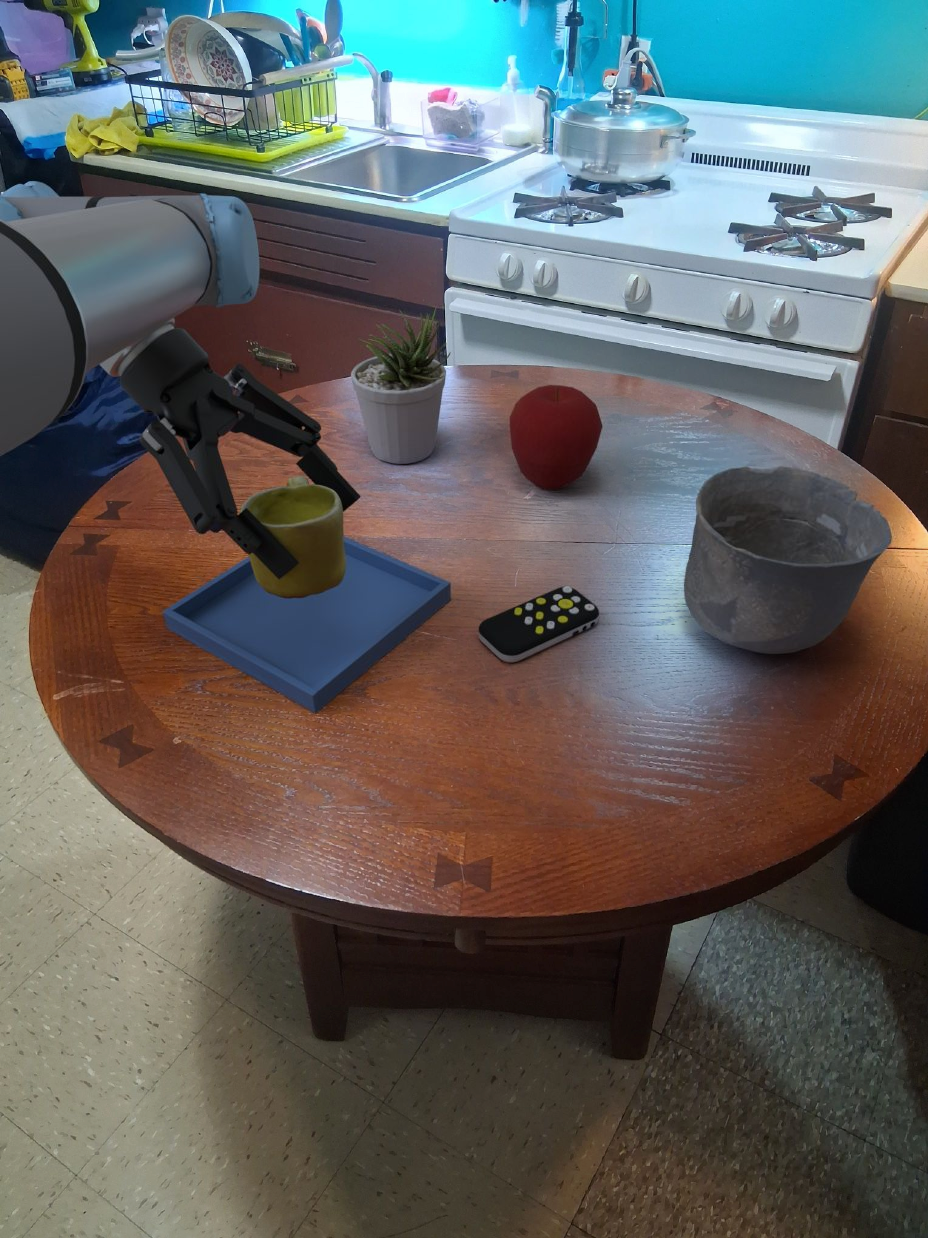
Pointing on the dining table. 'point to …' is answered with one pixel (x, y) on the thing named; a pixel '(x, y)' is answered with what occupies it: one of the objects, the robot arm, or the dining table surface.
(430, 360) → the potted plant
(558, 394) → the apple
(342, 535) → the mug
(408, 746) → the dining table surface
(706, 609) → the grey stone bowl
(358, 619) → the blue tray
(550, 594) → the remote control
